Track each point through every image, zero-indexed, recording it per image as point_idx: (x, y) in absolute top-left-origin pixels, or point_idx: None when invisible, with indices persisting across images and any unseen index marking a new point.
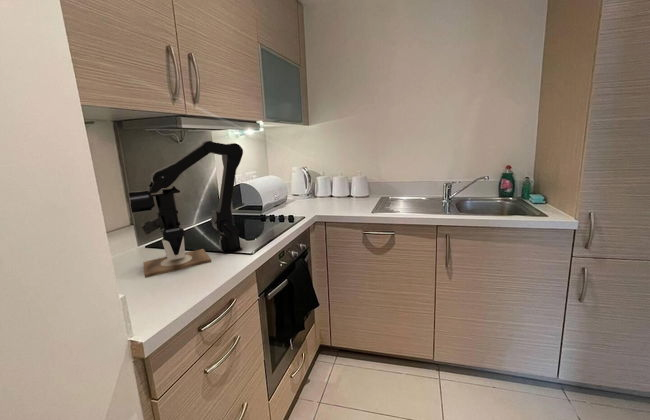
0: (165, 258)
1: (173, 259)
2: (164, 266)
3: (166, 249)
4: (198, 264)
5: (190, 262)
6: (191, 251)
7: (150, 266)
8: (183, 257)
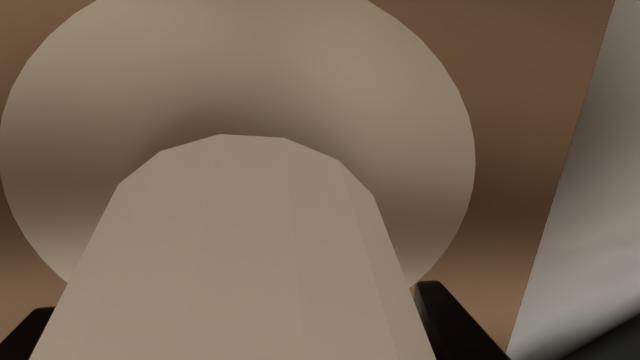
0: (511, 57)
1: None
2: (24, 31)
3: (79, 318)
4: None
5: None
6: (505, 338)
7: None
8: None
